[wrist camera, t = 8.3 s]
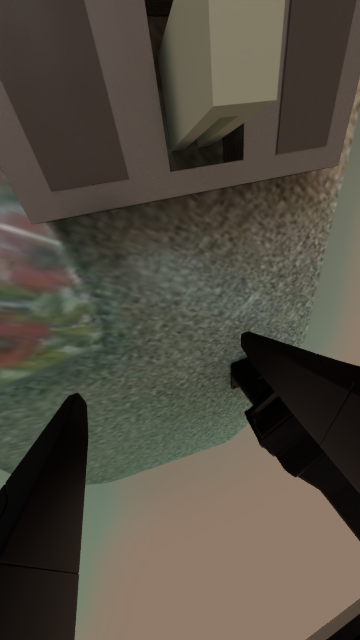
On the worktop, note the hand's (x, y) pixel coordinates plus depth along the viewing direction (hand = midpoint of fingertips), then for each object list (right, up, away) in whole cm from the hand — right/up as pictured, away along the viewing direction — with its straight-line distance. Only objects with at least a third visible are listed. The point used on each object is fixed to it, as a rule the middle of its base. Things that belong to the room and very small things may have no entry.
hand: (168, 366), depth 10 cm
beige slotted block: (+1, +19, +4) cm, 19 cm away
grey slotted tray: (+1, +19, +4) cm, 19 cm away
